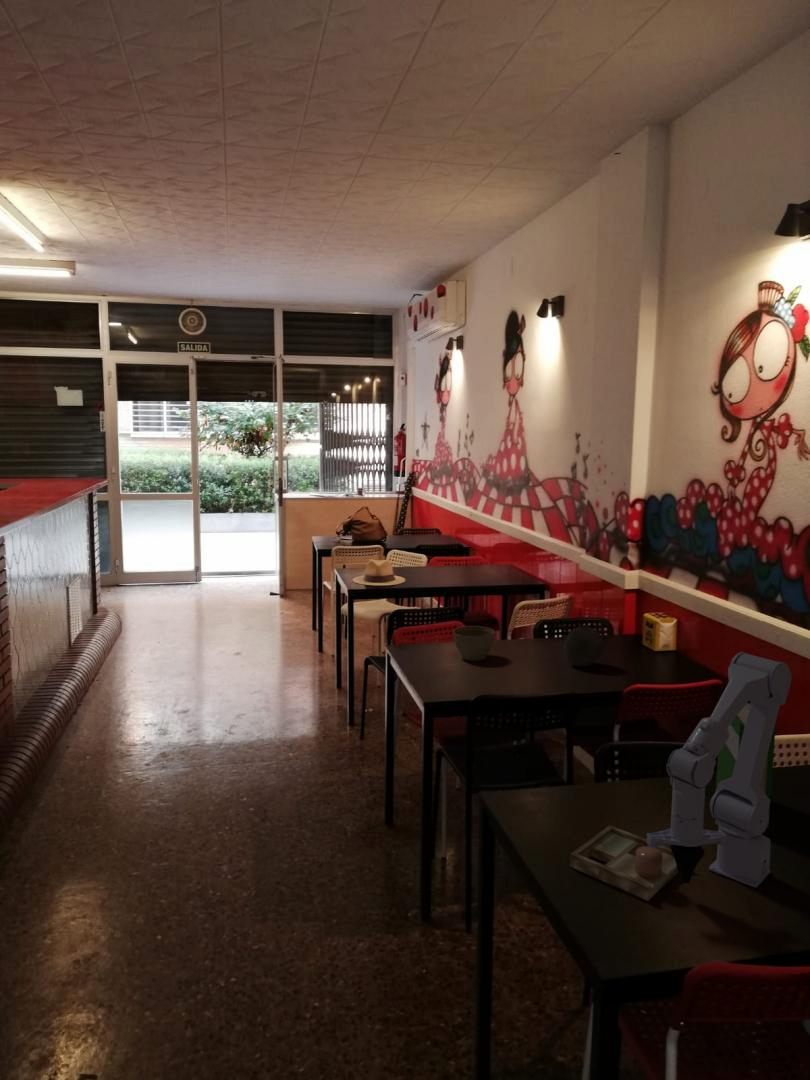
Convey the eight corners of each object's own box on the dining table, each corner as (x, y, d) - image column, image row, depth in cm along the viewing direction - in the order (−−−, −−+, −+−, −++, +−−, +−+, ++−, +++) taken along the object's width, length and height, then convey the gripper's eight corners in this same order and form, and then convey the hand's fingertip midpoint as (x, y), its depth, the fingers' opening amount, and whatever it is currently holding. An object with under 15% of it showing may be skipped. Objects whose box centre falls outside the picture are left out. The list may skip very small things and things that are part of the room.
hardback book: (768, 828, 173) (775, 726, 170) (733, 826, 175) (739, 724, 171) (747, 792, 191) (753, 699, 187) (715, 790, 192) (720, 697, 188)
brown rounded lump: (666, 871, 153) (666, 852, 152) (654, 882, 149) (655, 863, 149) (642, 862, 156) (643, 843, 156) (630, 872, 153) (631, 853, 152)
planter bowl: (450, 652, 312) (450, 626, 310) (489, 651, 313) (489, 625, 312) (457, 664, 296) (457, 637, 294) (498, 663, 298) (498, 635, 296)
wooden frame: (684, 866, 158) (685, 854, 158) (647, 901, 147) (648, 887, 146) (609, 837, 170) (609, 825, 170) (570, 866, 158) (570, 853, 158)
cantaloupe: (574, 673, 285) (575, 633, 283) (558, 662, 299) (558, 624, 297) (609, 670, 288) (610, 631, 286) (591, 659, 302) (592, 621, 300)
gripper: (715, 801, 150) (711, 866, 152) (642, 803, 149) (639, 869, 151) (732, 819, 143) (728, 887, 145) (655, 822, 142) (652, 890, 144)
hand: (684, 879), depth 148 cm, fingers closed
